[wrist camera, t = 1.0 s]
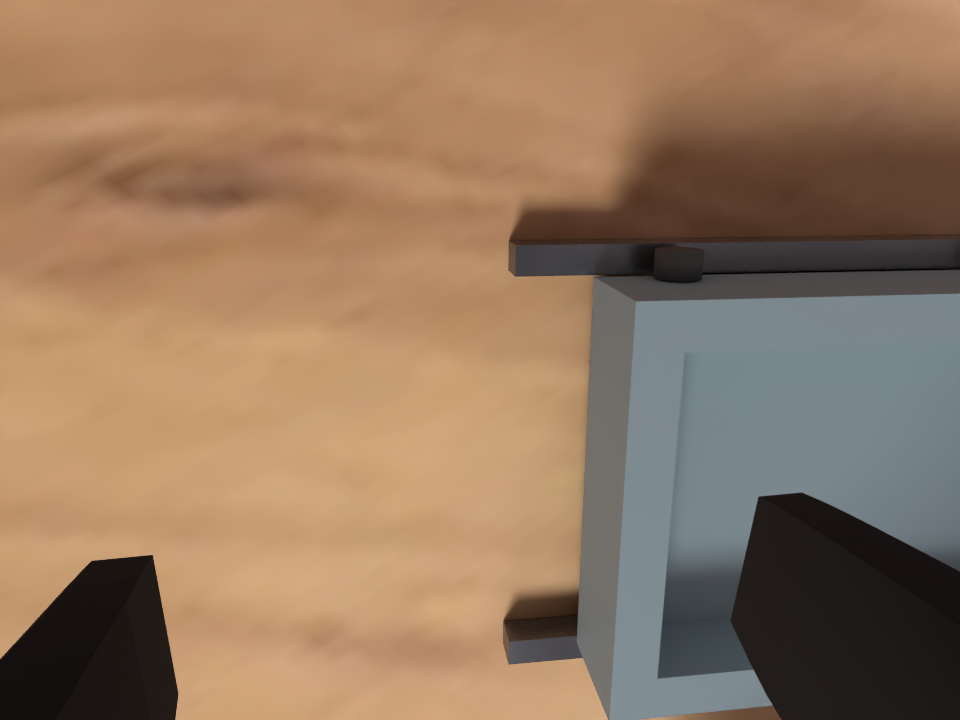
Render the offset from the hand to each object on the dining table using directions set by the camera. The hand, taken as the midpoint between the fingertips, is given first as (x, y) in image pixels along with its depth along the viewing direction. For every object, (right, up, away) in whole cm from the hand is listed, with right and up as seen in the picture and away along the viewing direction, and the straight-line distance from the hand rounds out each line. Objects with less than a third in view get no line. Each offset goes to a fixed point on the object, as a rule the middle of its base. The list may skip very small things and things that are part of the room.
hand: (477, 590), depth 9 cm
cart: (+10, 0, +13) cm, 16 cm away
